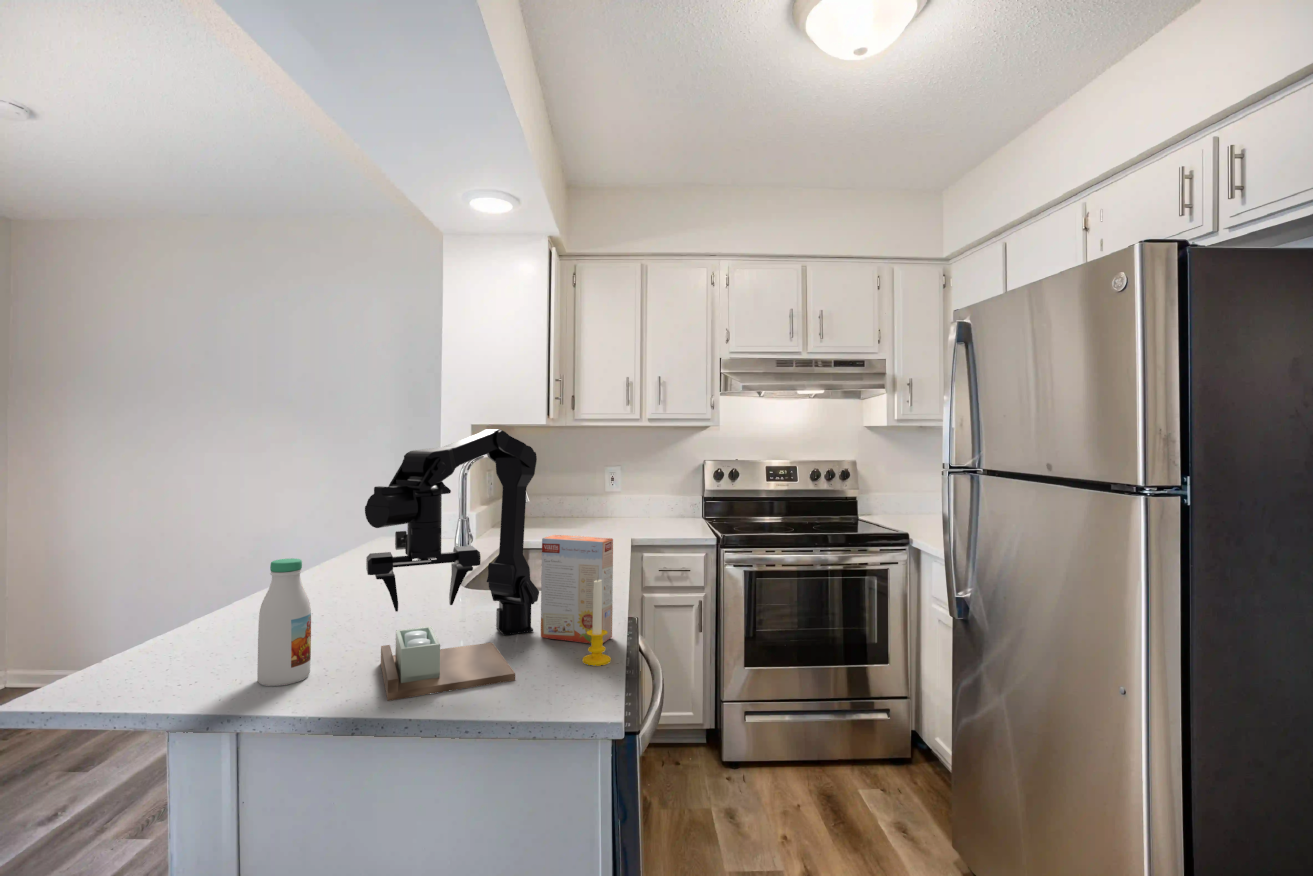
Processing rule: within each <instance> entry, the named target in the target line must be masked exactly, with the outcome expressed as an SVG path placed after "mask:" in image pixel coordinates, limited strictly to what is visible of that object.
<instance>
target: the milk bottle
mask: <svg viewBox="0 0 1313 876" xmlns="http://www.w3.org/2000/svg"><path fill="white" fill-rule="evenodd" d="M302 568H303V561H302V559H301V558H293V557H292V558H290V557H289V558H280V559H276V560H272V561H271V562H270V573H269V574H270V576H271V580H270V581H271V582H270V585H269V588H268V589H267V592H266V594H265V596H264V597H263V600H262V602H261V604H260V608H259V615H258V631H257V633H258V634H257V682H258V683H259V685H262V686H265V687H279V686H280V687H281V686H287V685H292V684H295V683H298V682H301V681H303V680H305V679H306V678H308V677H309V675H310V673H311V662H312V661H311V659H312V658H311V656H312V655H311V653H312V652H311V650H312V649H311V648H312V608H311V606H312V605H311V601H310V598H309V596H308V593H307V591H306V590H305V588H304V586H303V583H302V580H301V573H303V571H302Z"/></svg>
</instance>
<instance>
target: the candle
mask: <svg viewBox="0 0 1313 876" xmlns="http://www.w3.org/2000/svg"><path fill="white" fill-rule="evenodd" d="M607 633H608V632H607V631H606V630H602V580H595V581H594V590H593V629H592V630H589V631H587V634H588V635H591V638H592V639H591V644H590V645H591V646H589V647H588V648H587V651H588V652H589V653H590V654H587V655H584V656H583V657H582V663H583V664H584V663H585V664H584V665H586V664H588V665H587V666H590V665H593V666H592V667H602V666H601V665H603V666H605V665H608V664H610V663H611V661H612V658H611V656H609V655H608V654H604V652H606V647H605V646H604V645H603V644H604V643H603V639H602V638H603V635H606V634H607ZM595 665H596V666H595Z"/></svg>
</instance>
